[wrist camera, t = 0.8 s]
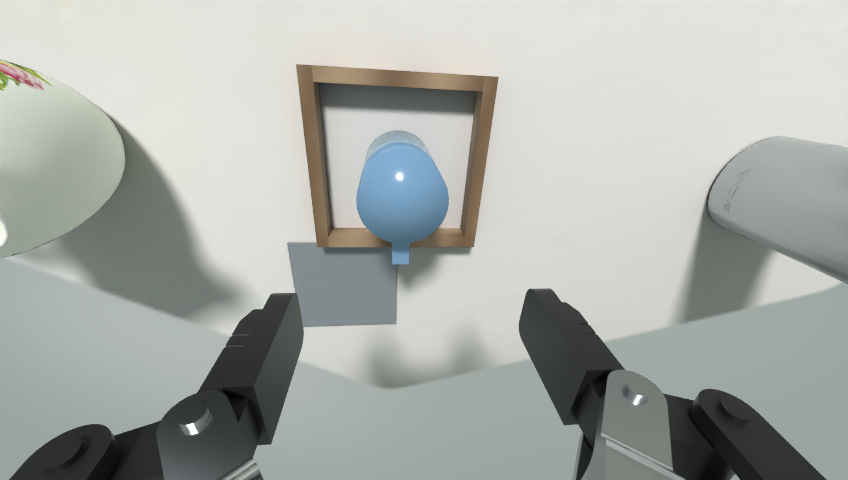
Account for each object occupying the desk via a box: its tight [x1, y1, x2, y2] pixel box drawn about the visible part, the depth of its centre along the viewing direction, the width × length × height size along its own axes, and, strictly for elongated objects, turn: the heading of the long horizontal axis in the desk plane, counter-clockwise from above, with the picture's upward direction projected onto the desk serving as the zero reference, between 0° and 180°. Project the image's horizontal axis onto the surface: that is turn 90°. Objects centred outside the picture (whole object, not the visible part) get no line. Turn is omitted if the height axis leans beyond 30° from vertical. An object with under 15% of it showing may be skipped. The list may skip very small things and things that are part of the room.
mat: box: [287, 243, 397, 327], centre depth 32 cm, size 10×10×1 cm
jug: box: [356, 131, 449, 264], centre depth 24 cm, size 8×6×9 cm
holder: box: [296, 64, 498, 247], centre depth 26 cm, size 14×14×2 cm
